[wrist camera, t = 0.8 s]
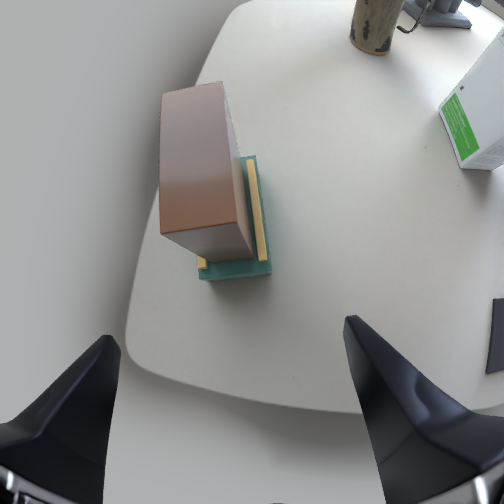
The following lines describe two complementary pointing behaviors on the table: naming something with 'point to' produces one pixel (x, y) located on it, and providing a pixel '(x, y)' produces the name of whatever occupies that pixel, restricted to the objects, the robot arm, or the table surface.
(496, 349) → the mat
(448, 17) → the faucet
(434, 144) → the table surface
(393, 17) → the mug
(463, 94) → the cosmetic box
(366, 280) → the table surface
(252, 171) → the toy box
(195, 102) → the block
